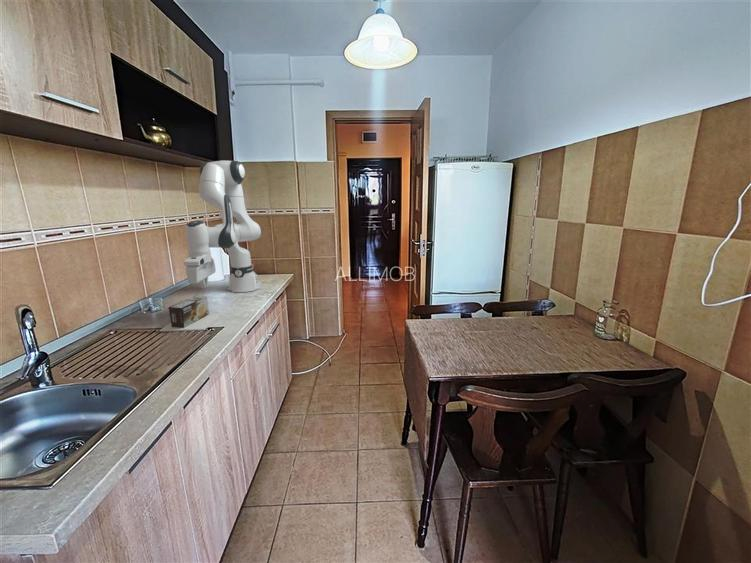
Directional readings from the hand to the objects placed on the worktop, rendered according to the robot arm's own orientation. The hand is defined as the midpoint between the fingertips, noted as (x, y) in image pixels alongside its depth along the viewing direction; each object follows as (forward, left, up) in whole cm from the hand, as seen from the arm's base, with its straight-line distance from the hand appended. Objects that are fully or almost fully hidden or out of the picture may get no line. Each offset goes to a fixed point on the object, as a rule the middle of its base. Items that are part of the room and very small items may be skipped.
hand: (204, 287), depth 154 cm
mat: (+12, -2, -13) cm, 18 cm away
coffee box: (+2, -1, -8) cm, 8 cm away
